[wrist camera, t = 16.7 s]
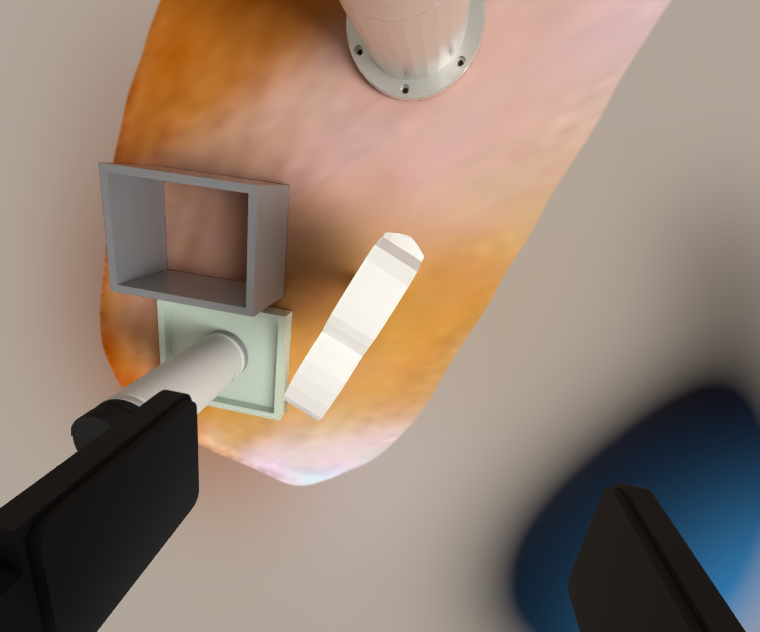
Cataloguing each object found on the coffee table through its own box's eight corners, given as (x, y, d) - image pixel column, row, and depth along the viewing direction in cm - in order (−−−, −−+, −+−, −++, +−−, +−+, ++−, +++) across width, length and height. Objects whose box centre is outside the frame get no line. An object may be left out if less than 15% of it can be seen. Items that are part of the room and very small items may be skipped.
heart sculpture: (362, 351, 48) (318, 441, 31) (326, 329, 48) (263, 408, 31) (434, 241, 43) (428, 279, 26) (394, 216, 43) (362, 237, 26)
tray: (168, 288, 50) (156, 293, 48) (292, 311, 48) (285, 316, 46) (172, 387, 54) (162, 396, 52) (286, 411, 53) (279, 420, 51)
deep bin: (156, 165, 45) (98, 162, 37) (289, 185, 43) (257, 185, 36) (161, 274, 49) (110, 291, 42) (283, 295, 48) (253, 317, 40)
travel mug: (254, 376, 51) (143, 491, 32) (206, 375, 51) (71, 484, 33) (248, 330, 49) (125, 422, 30) (198, 329, 50) (48, 418, 31)
